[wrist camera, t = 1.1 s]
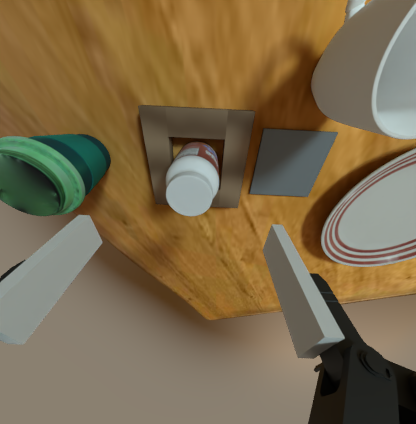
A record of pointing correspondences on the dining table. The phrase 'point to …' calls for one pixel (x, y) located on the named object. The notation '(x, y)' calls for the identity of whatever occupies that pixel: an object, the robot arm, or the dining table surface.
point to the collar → (197, 128)
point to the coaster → (290, 161)
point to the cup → (50, 171)
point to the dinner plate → (375, 218)
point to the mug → (371, 69)
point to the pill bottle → (192, 179)
